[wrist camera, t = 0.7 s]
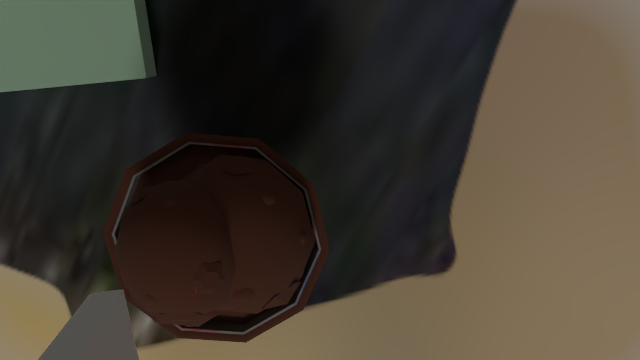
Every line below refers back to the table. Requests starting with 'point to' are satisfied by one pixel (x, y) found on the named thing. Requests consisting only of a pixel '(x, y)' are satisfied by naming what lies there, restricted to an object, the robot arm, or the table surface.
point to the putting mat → (73, 43)
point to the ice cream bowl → (216, 237)
